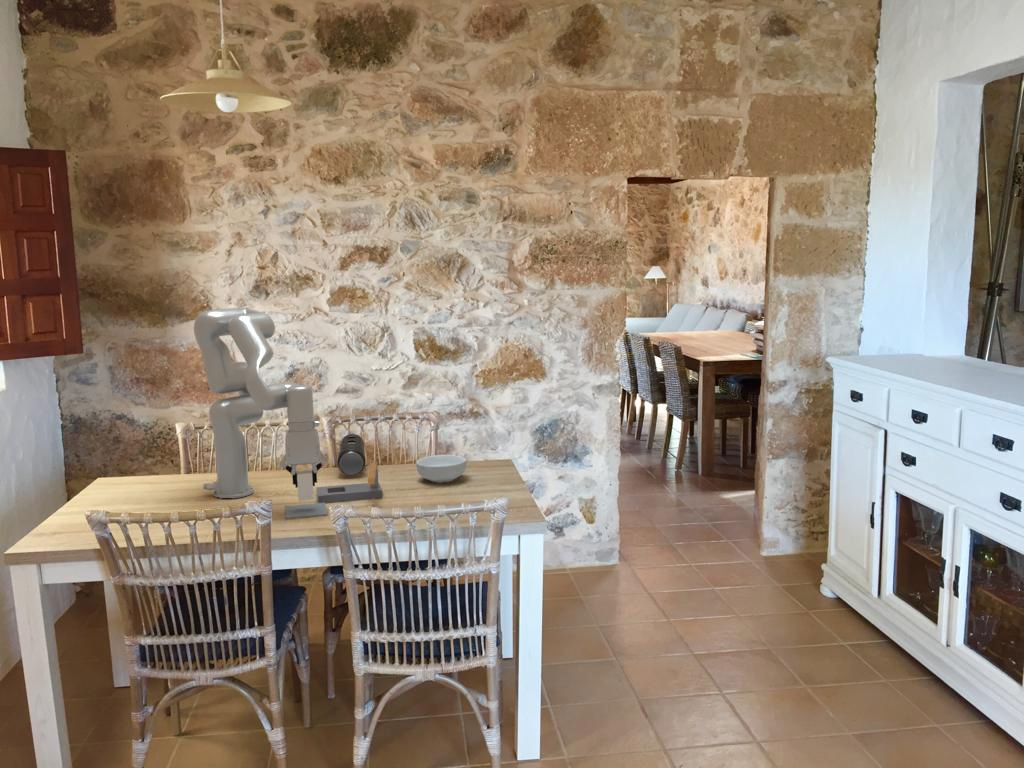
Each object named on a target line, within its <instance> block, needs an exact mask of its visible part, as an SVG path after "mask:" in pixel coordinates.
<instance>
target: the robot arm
mask: <svg viewBox="0 0 1024 768" xmlns="http://www.w3.org/2000/svg"><path fill="white" fill-rule="evenodd" d="M275 330H276V326H275V322H274V320H273V319H272V317H271V316H270V315H269V314H268V313H266V312H264V311H260V310H254V309H250V308H245V307H231V308H218V309H217V308H216V309H210V310H205V311H202V312H201V313H199V314H198V315H197V316H196V318H195V320H194V323H193V333H194V338H195V341H196V343H197V345H198V348H199V350H200V353H201V356H202V362H203V366H204V371H205V376H206V379H207V380H206V381H207V385H208V388H209V390H210V391H211V393H213V394H215V395H226V394H232V393H238V394H239V395H237V396H235V395H234V396H230V397H224V398H220V399H218V400H216V401H214V402H213V403H212V404H211V405H210V407H209V408H208V409H209V410H208V416H209V420H210V423H211V427H212V431H213V432H212V433H213V439H214V452H215V466H216V478H217V479H216V481H213V482H212V483H209V482H208V483H207V482H206V483H203V484H202V488H203V490H206V491H213V492H212V495H213V497H214V496H215V498H217V497H219V498H218V499H222V498H232V499H239V498H243V497H247V496H250V495H252V494H253V493H254V492H255V490H254V489H255V488H254V487H253V486H252V485H249V473H248V472H249V471H248V470H249V469H248V456H247V442H246V437H245V435H244V434H243V432H242V431H241V429H240V428H239V427H240V426H243V425H249V424H253V423H256V422H259V421H260V420H261V419H262V418H263V415H264V411H267V412H268V411H274V410H279V409H285V408H287V423H288V424H287V425H288V430H286V432H285V437H284V438H285V439H284V440H285V442H284V443H285V451H284V452H285V454H284V455H283V457H282V458H281V460H280V462H279V463H278V465H279V467H281V468H283V469H285V470H286V471H287V472H289V473H290V474H291V476H292V485H295V486H294V487H295V488H296V489H298V483H297V466H298V465H299V466H300V465H309V464H310V466H311V470H312V479H313V487H315V485H316V483H318V479H317V476H318V475H317V473H318V471H319V470H320V469H321V468H323V466H324V465H325V464H326V463H328V461H329V460H328V458H327V457H326V456H325V455H324V453H323V452H322V451H321V444H320V436H319V432H318V429H317V428H316V427H319V426H320V421H318V420H315V414H314V397H313V388H312V387H311V385H310V384H298V382H297V383H296V382H293V381H284V382H278V383H273V384H272V383H271V384H266V383H265V381H264V380H263V378H262V376H261V373H260V369H261V368H263V367H264V366H265V365H266V364H268V363H269V362H270V361H271V360H272V359H273V356H274V350H273V348H272V347H271V345H270V344H269V342H268V339H270V338H272V337H273V335H274V334H275V332H276V331H275ZM224 336H231V338H232V340H233V341H234V343H235V345H236V346H237V348H238V349H239V352H240V354H241V355H242V357H243V359H244V360H245V361H238V362H233V360H232V357H231V355H232V354H231V351H230V348H229V347H228V345H227V344H226V343H225V342H224V340H222V339H221V338H220V337H224Z"/></svg>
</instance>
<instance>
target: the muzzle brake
mask: <svg viewBox="0 0 1024 768" xmlns="http://www.w3.org/2000/svg"><path fill="white" fill-rule="evenodd" d="M339 444H340V445H339V453H338V457H337V467H338V469H339V471H340V472H341V473H342V474H345V475H347V476H355V475H358V474H360V473H361V472H363V470H364V469H365V467H366V457H365V442H364V439H363V437H361V436H360V435H358V434H355V433H351V434H350V433H349V434H347V435H345V436H343V438H342V439H341V441H340V443H339Z"/></svg>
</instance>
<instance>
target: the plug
mask: <svg viewBox="0 0 1024 768" xmlns="http://www.w3.org/2000/svg"><path fill="white" fill-rule="evenodd" d="M296 473H297V483H298V487H297V497H298V501H299V502H301V501H309V500H311V501H312V500H314V486H313V479H312V469H305V470H296Z"/></svg>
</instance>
